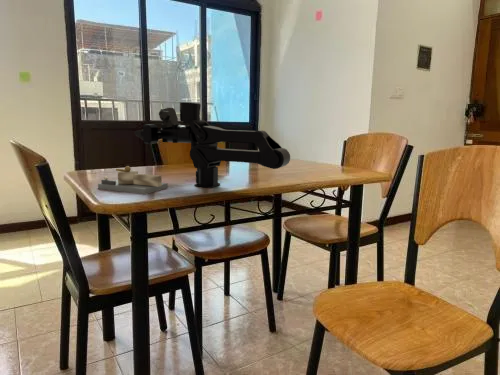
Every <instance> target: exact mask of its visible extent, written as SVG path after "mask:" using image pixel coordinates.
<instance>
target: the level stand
mask: <svg viewBox="0 0 500 375" xmlns="http://www.w3.org/2000/svg"><path fill="white" fill-rule="evenodd" d="M100 180H101V182H99V183H98V184H97V188H98V190H99V189H100V190H109V191H117V192H125V193H132V194H140V195H142V194H143V195H146V194H151V193H153V192H158V191H160V190H165V188H166V189H168V187H169V186H168V183H167V182H162V186H159V187H156V186H147V185H138V184H118V179H113V180H111V179H109V177H108V176H106V175H105V176H104V177H103V179H100Z"/></svg>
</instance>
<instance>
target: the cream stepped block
mask: <svg viewBox="0 0 500 375" xmlns="http://www.w3.org/2000/svg"><path fill="white" fill-rule="evenodd" d="M115 171H116V172H117V180H118V184H138V185H147V186H156V187H159V186H162V183H163V182H162V175H158V174H157V175H156V174H146V173H139V171H138V170H135V169H132V168H131V167H130V166H129V165H126V166H125V167H124V168H116V169H115Z"/></svg>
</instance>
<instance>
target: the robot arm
mask: <svg viewBox="0 0 500 375" xmlns="http://www.w3.org/2000/svg"><path fill="white" fill-rule="evenodd" d="M158 116H159V120H160V121H161V122H162V123H161V124H160V128H159V127H158V126H157V125H156V124H153V123H151V124H150V123H149V124H143V125H142V129H139V130H136V131H134V135H135V136H136V137H137V138H140V139H141V140H142V141H143V144H145V145H152V144H157V143H158V142H159V140H161V139H162V141H161V142H162V143H173V144H177V143H178V144H179V143H183V144H190V150H189V157H190V159H191V161H192V163H193V168H195V169H196V170H195V184H194V185H193V186H195V187H203V188H214V187H217V186H219V185H221V182H219V167H220V166H221V163H222V162H232V163H245V164H246V163H248V164H257V165H260V166H262V167H264V168H268V169H272V170H276V169H280V168H284V167H285V166H287V165H288V164H290V162H291V155H290V152H289V151H288V149H286V148H284V147H282V146H281V145H280V144H279V143H278V142H277V141H276V140H275V139H273V138H272V137H271V136H270V135H269V134H268V132H267V131H265V130H262V129H261V130H234V129H224V128H222V127H219V126H214V125H210V124H209V123H208V122H207V121H206V120H205V119H201V103H200V102H199V103H198V102H186V101H185V102H179V118H178V114H177V112H176V109H175V108H174V107H166V108H160V110H159V112H158ZM179 120H180V122H182V123H183V124H182V123H179ZM185 124H186V125H185ZM189 124H190V125H189ZM158 128H159V129H158ZM218 143H240V144H241V143H242V144H244V143H245V144H255V146H256V147H257V149H258V150H254V149H251V150H250V149H249V150H248V149H238V148H237V149H235V148H221V147H219V146H218Z"/></svg>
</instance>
